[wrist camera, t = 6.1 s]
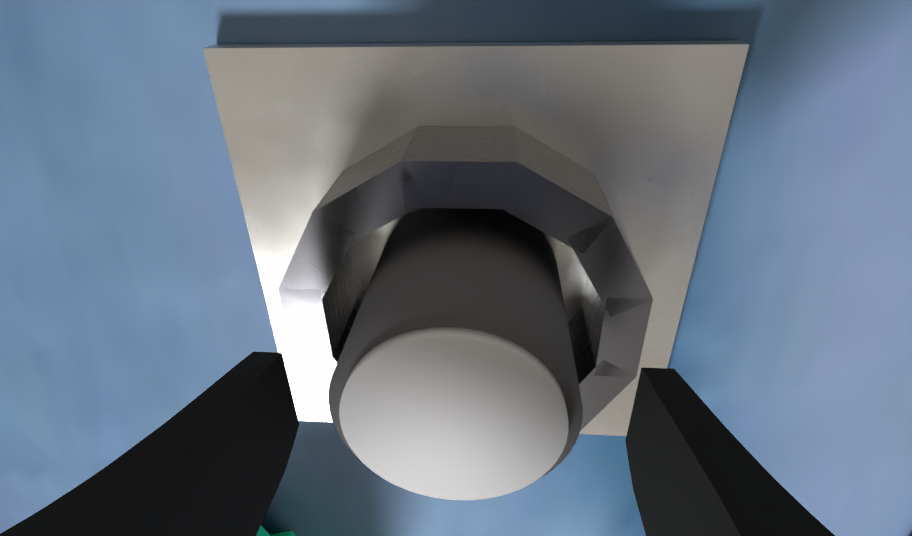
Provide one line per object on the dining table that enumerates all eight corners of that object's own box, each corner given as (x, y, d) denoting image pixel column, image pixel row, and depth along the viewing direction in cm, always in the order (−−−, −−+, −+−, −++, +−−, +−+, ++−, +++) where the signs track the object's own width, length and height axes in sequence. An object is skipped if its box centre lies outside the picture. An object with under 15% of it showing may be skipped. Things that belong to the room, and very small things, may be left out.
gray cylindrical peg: (563, 197, 13) (596, 325, 8) (553, 351, 16) (574, 513, 11) (368, 199, 13) (300, 322, 9) (389, 349, 16) (345, 504, 11)
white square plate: (738, 40, 11) (809, 65, 9) (645, 423, 18) (671, 505, 15) (215, 44, 12) (136, 68, 10) (301, 407, 18) (267, 483, 16)
